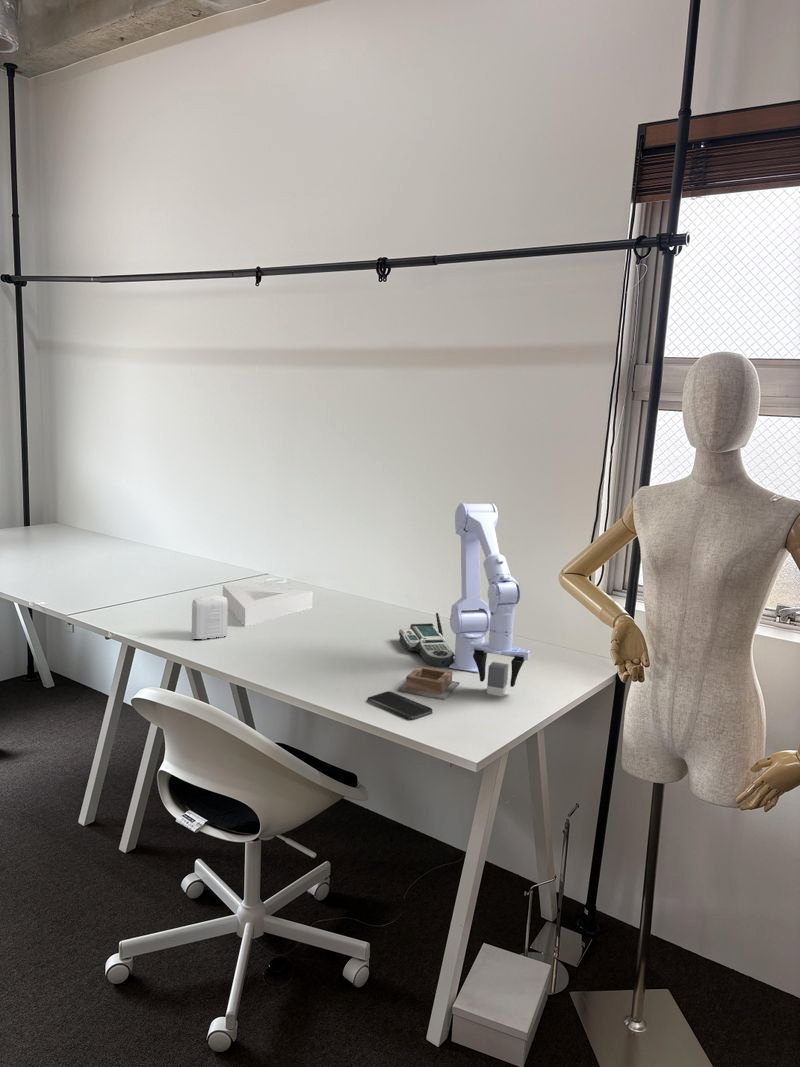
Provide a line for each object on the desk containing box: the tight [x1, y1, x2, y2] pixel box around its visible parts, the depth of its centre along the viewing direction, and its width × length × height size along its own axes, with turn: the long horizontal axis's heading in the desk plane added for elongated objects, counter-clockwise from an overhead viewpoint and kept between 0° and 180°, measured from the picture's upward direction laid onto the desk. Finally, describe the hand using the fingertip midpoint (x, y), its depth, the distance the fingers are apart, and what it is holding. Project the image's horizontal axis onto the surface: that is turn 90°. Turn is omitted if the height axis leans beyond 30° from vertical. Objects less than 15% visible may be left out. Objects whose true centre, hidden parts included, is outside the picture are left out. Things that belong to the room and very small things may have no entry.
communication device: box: [398, 612, 455, 668], centre depth 235 cm, size 12×24×9 cm, turn 15°
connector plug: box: [486, 661, 510, 697], centre depth 207 cm, size 4×4×7 cm
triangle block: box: [222, 584, 314, 628], centre depth 263 cm, size 30×26×6 cm
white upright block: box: [191, 594, 229, 640], centre depth 239 cm, size 10×4×12 cm, turn 123°
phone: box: [366, 690, 433, 721], centre depth 196 cm, size 8×1×15 cm
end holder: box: [397, 665, 460, 701], centre depth 208 cm, size 12×12×4 cm
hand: (497, 682), depth 207 cm, fingers open, 7 cm apart
